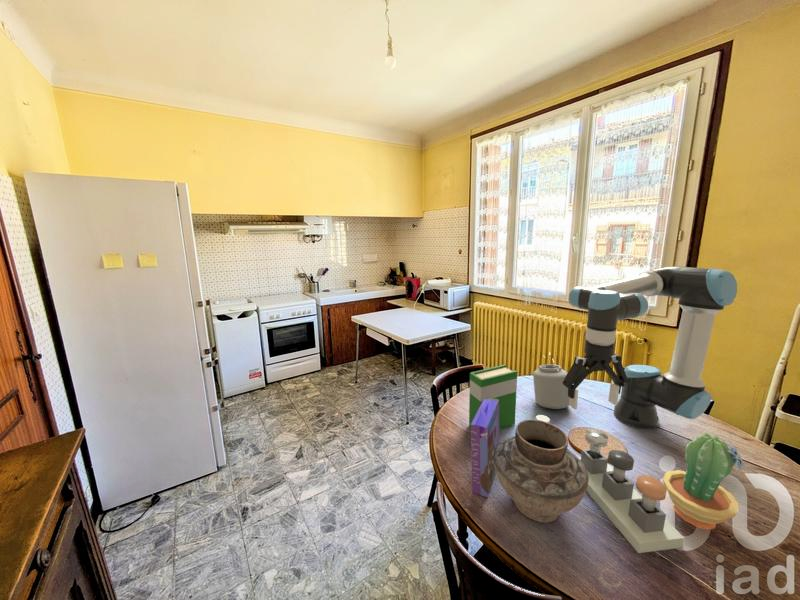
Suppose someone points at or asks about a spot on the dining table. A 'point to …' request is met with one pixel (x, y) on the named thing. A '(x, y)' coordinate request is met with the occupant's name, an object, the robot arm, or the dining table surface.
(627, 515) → the console
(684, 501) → the potted cactus
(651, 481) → the terracotta plunger
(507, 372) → the hardback book
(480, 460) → the cereal box
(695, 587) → the dining table surface
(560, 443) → the ceramic pot
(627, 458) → the middle plunger
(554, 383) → the jar
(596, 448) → the plunger
